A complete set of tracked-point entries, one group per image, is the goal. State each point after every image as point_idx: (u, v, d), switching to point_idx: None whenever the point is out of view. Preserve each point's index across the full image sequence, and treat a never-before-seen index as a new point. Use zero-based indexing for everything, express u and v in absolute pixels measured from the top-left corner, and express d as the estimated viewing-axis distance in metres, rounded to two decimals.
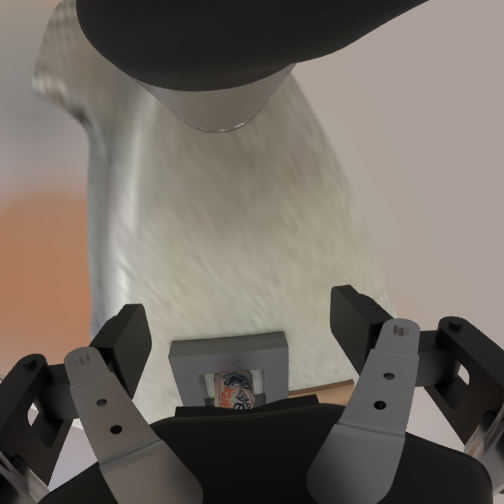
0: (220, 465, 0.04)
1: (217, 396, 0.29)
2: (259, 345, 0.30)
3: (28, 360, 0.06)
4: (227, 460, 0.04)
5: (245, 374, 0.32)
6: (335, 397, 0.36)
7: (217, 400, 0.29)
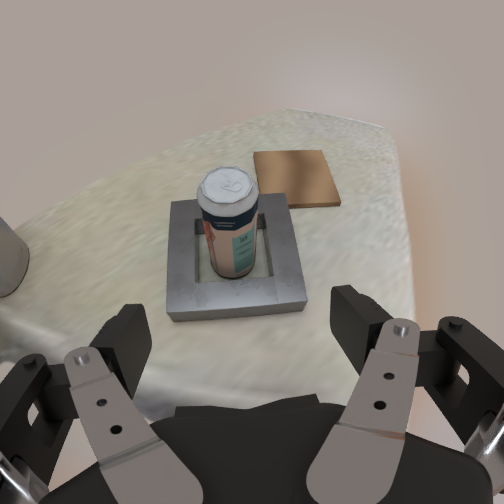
0: (220, 465, 0.04)
1: (216, 254, 0.27)
2: None
3: (28, 360, 0.06)
4: (226, 460, 0.04)
5: None
6: (272, 163, 0.38)
7: (216, 251, 0.26)
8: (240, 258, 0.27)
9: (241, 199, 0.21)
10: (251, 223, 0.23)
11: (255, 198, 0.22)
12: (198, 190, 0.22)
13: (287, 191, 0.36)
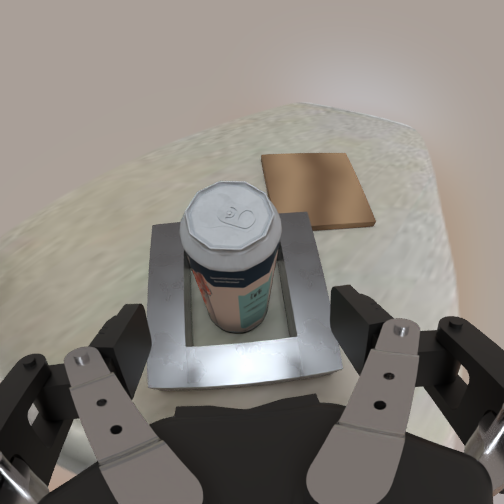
0: (220, 465, 0.04)
1: (215, 309, 0.18)
2: None
3: (28, 360, 0.06)
4: (227, 460, 0.04)
5: None
6: (286, 169, 0.30)
7: (214, 306, 0.18)
8: (249, 314, 0.18)
9: (255, 242, 0.12)
10: (269, 273, 0.15)
11: (277, 237, 0.13)
12: (182, 223, 0.13)
13: (307, 207, 0.27)
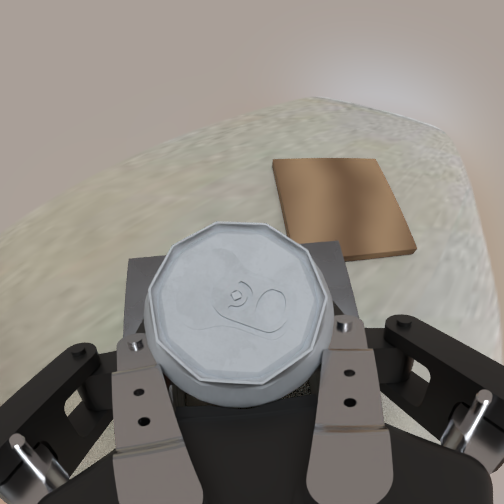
0: (220, 465, 0.04)
1: None
2: None
3: (77, 349, 0.07)
4: (227, 460, 0.04)
5: None
6: (304, 179, 0.23)
7: None
8: None
9: (292, 365, 0.05)
10: None
11: (328, 336, 0.07)
12: (147, 306, 0.07)
13: (334, 231, 0.21)
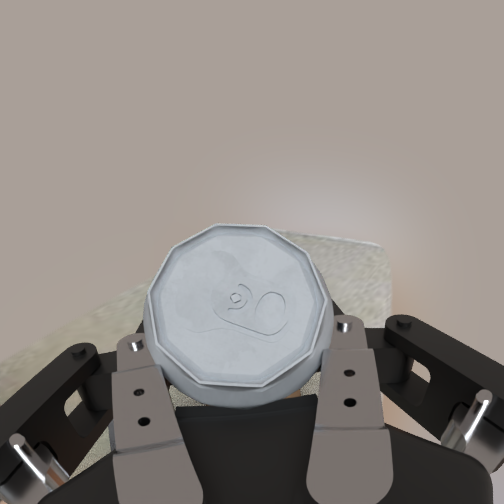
0: (220, 465, 0.04)
1: None
2: None
3: (77, 349, 0.07)
4: (227, 460, 0.04)
5: None
6: None
7: None
8: None
9: (291, 368, 0.05)
10: None
11: (328, 338, 0.07)
12: (146, 308, 0.07)
13: None
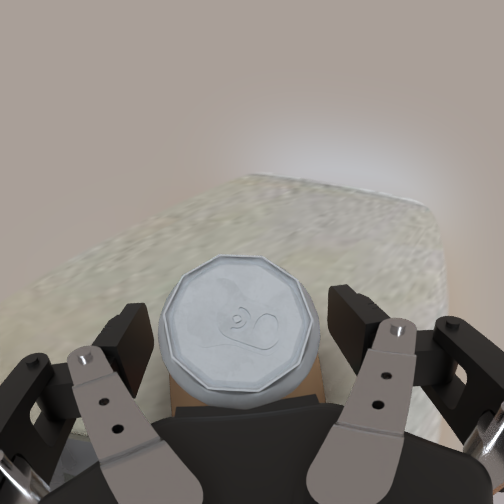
0: (220, 465, 0.04)
1: None
2: None
3: (31, 359, 0.06)
4: (227, 460, 0.04)
5: None
6: None
7: None
8: None
9: (283, 376, 0.07)
10: None
11: (315, 351, 0.08)
12: (161, 326, 0.08)
13: None
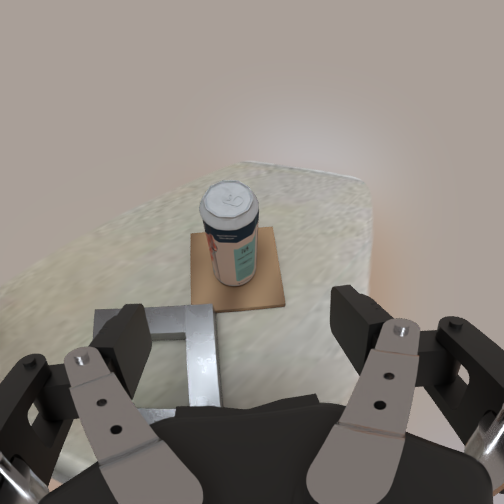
0: (220, 465, 0.04)
1: (219, 264, 0.28)
2: None
3: (29, 360, 0.06)
4: (226, 460, 0.04)
5: None
6: None
7: (218, 261, 0.27)
8: (242, 268, 0.28)
9: (242, 213, 0.22)
10: (252, 235, 0.24)
11: (256, 212, 0.23)
12: (201, 204, 0.23)
13: (221, 291, 0.31)
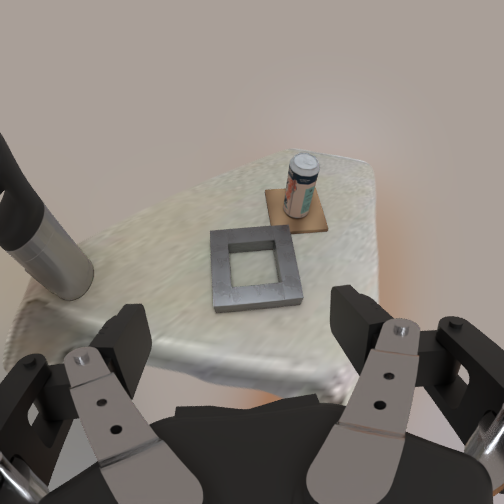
0: (220, 465, 0.04)
1: (293, 201, 0.48)
2: None
3: (28, 360, 0.06)
4: (227, 460, 0.04)
5: None
6: (279, 199, 0.54)
7: (293, 198, 0.47)
8: (306, 203, 0.48)
9: (314, 168, 0.42)
10: (315, 182, 0.44)
11: (319, 168, 0.43)
12: (291, 163, 0.43)
13: (290, 221, 0.51)
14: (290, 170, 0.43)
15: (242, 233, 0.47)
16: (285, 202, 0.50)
